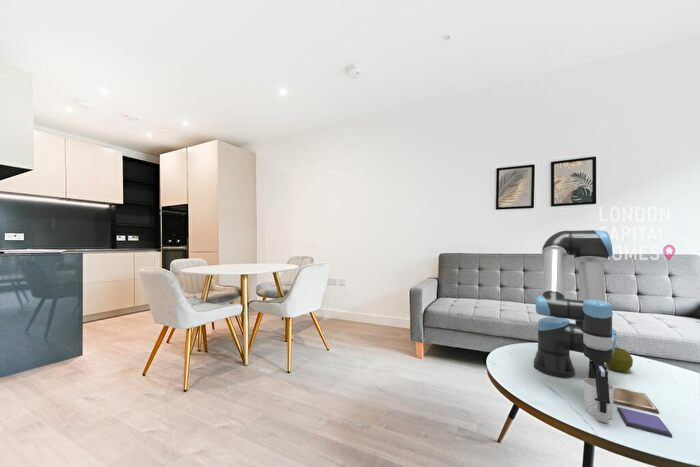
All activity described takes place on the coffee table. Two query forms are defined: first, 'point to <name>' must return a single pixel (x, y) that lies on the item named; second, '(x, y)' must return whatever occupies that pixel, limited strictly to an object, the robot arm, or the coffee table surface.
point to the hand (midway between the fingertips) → (598, 412)
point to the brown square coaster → (633, 400)
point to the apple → (620, 360)
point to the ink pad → (644, 422)
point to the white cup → (591, 394)
